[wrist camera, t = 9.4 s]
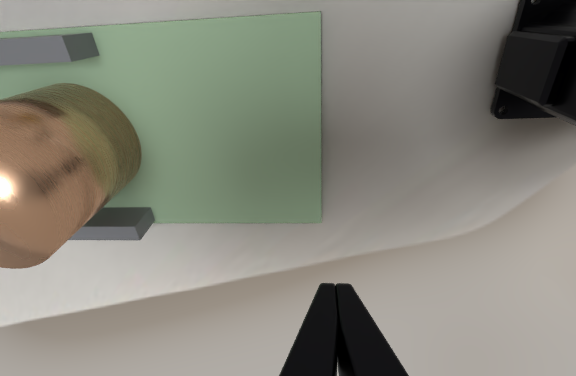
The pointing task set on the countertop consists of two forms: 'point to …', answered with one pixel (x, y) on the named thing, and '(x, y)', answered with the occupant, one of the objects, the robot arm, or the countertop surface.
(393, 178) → the countertop surface
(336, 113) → the countertop surface
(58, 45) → the shallow gray tray
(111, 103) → the copper metal cylinder
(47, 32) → the green
